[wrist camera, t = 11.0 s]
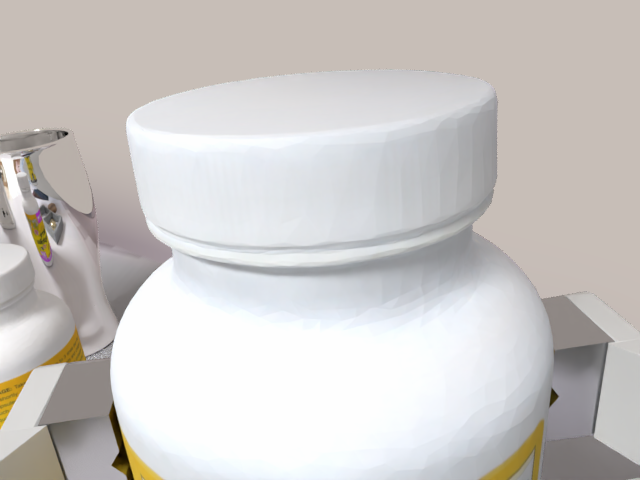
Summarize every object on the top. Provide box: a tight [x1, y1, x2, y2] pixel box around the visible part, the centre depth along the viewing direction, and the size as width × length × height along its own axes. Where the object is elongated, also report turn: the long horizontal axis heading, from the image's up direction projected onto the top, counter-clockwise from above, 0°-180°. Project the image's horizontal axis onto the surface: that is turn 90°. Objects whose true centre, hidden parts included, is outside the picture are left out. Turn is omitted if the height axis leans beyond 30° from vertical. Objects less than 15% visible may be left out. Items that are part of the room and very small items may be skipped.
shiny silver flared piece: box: [0, 128, 119, 357], centre depth 39 cm, size 7×7×15 cm
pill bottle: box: [110, 69, 554, 480], centre depth 10 cm, size 6×6×12 cm
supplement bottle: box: [0, 244, 86, 429], centre depth 27 cm, size 7×7×13 cm
